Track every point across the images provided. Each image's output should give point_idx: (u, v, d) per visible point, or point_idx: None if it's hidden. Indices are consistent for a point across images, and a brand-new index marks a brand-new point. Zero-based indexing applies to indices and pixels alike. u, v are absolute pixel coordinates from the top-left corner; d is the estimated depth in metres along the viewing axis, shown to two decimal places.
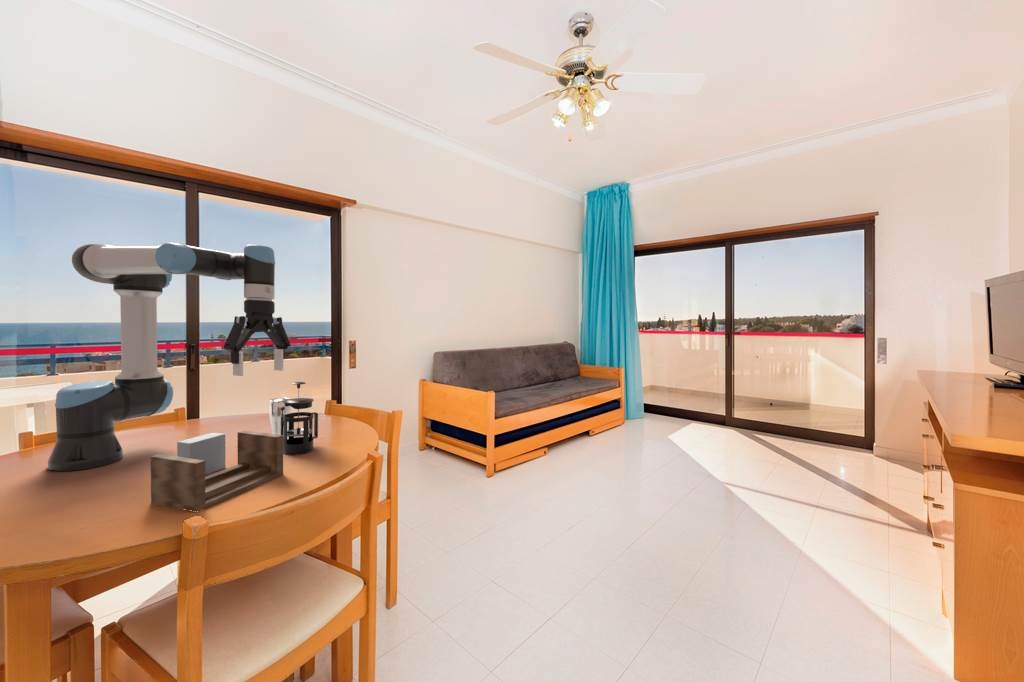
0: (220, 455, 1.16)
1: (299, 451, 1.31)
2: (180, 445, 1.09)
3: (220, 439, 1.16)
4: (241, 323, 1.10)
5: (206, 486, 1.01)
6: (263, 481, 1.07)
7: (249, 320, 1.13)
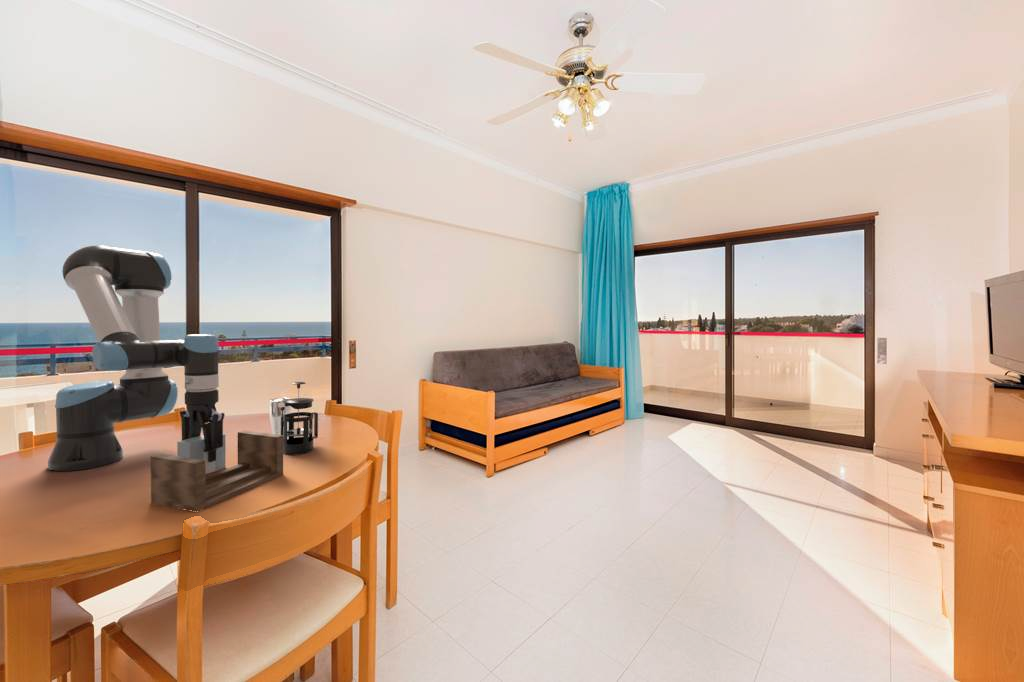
0: (220, 455, 1.16)
1: (299, 451, 1.31)
2: (180, 445, 1.08)
3: None
4: (181, 418, 1.13)
5: (206, 486, 1.01)
6: (263, 481, 1.07)
7: (188, 411, 1.13)
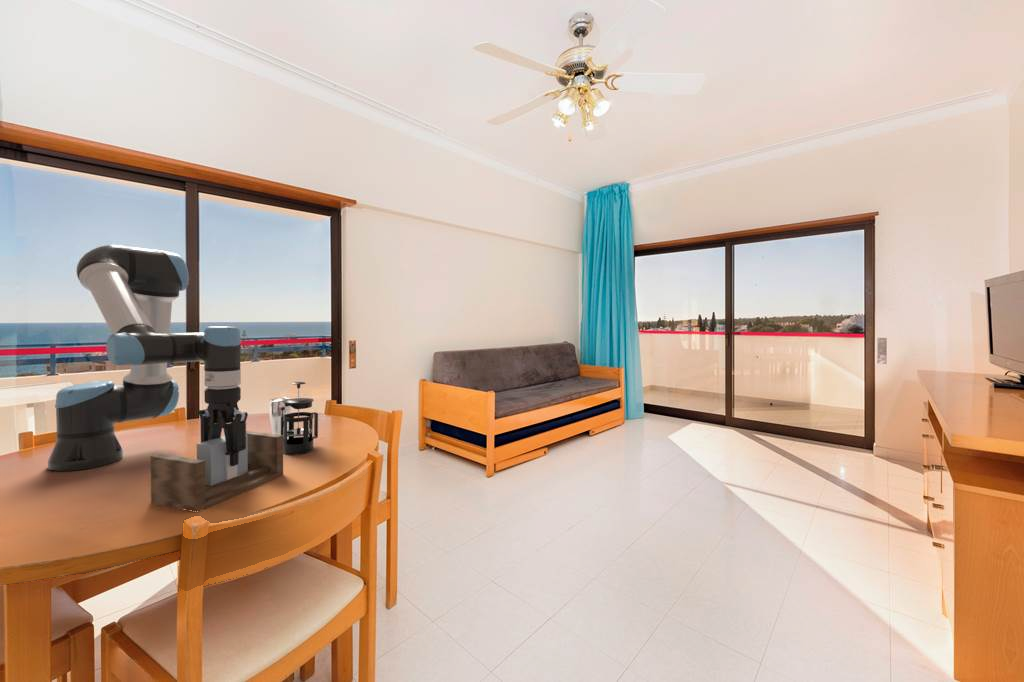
0: (242, 459, 1.06)
1: (299, 451, 1.31)
2: (200, 447, 0.99)
3: None
4: (200, 418, 1.03)
5: (206, 486, 1.01)
6: (263, 481, 1.07)
7: (208, 411, 1.03)
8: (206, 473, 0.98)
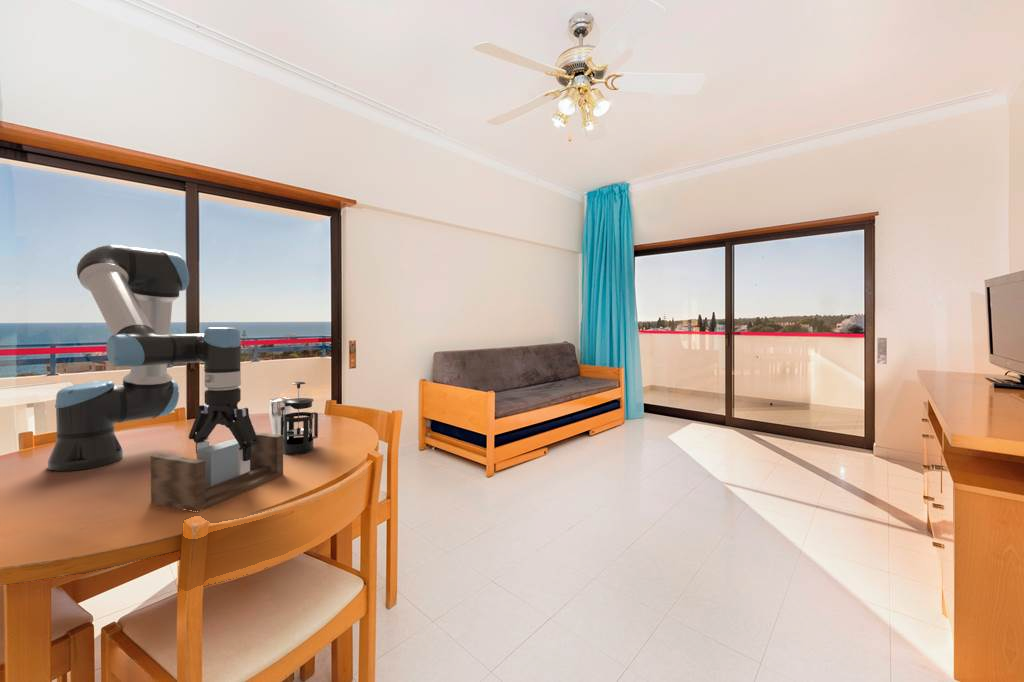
0: None
1: (299, 451, 1.31)
2: (200, 453, 0.99)
3: None
4: (198, 413, 1.04)
5: None
6: (263, 481, 1.07)
7: None
8: (206, 479, 0.99)
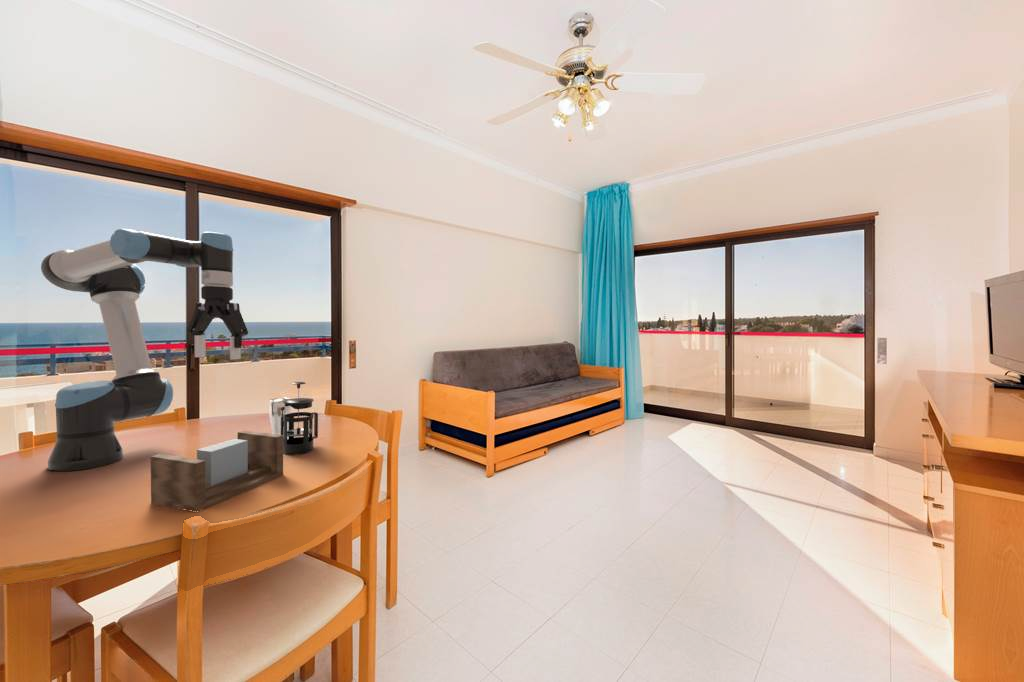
0: (242, 464, 1.06)
1: (299, 451, 1.31)
2: (200, 453, 0.99)
3: (242, 446, 1.06)
4: (195, 309, 1.20)
5: None
6: (263, 481, 1.07)
7: (204, 306, 1.19)
8: (206, 479, 0.99)
